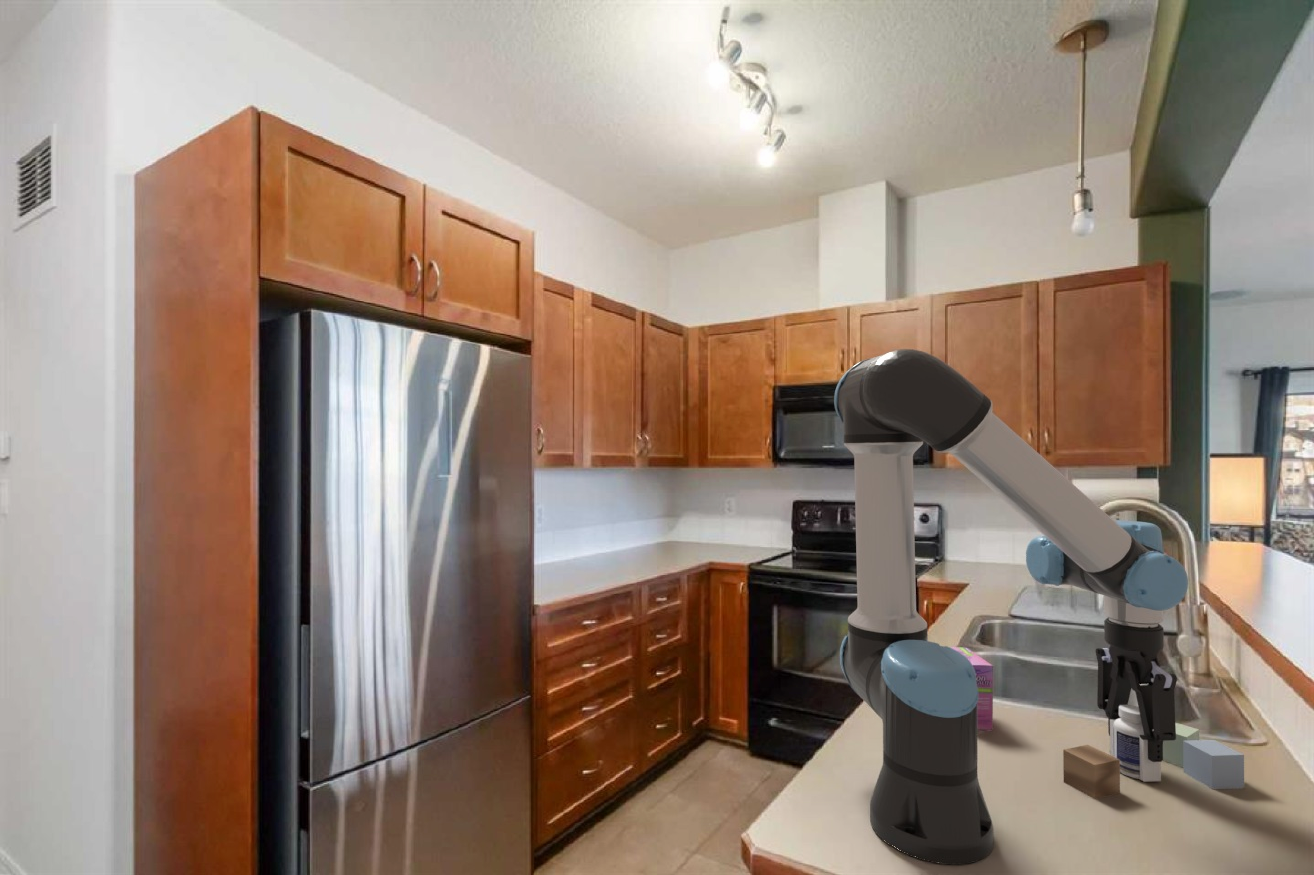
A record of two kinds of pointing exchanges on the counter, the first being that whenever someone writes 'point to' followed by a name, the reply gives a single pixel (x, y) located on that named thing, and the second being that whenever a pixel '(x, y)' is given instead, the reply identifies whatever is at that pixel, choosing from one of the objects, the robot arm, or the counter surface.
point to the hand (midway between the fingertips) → (1134, 769)
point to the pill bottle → (1128, 740)
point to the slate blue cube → (1213, 764)
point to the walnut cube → (1091, 771)
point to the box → (981, 688)
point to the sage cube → (1178, 744)
